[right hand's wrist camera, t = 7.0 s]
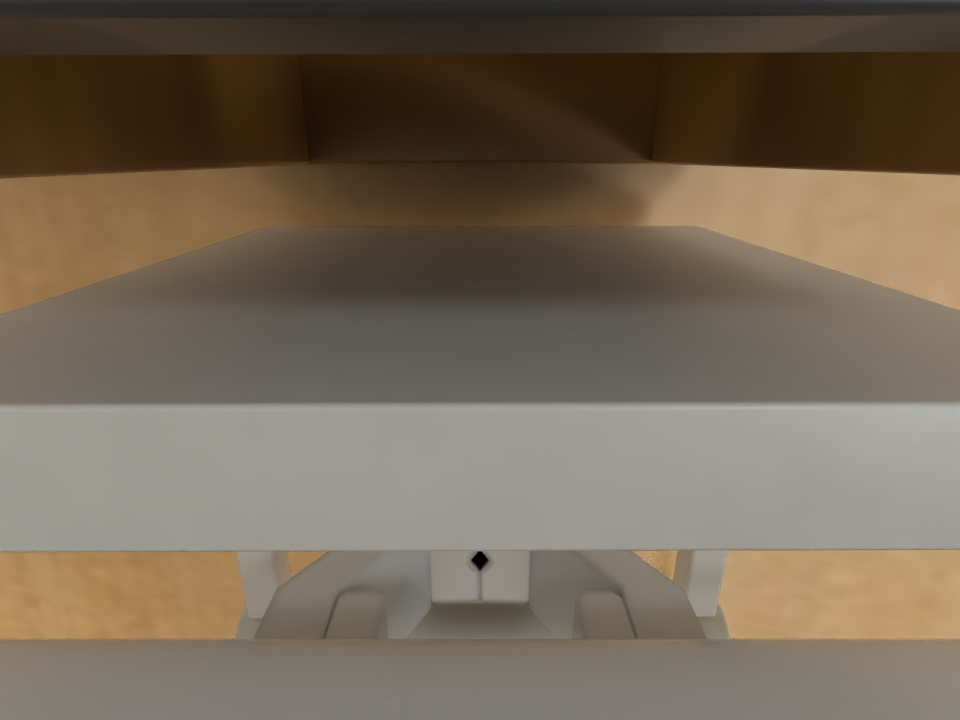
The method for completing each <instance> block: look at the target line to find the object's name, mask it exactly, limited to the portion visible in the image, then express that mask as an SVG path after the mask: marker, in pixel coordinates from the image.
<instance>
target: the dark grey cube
mask: <svg viewBox="0 0 960 720" xmlns="http://www.w3.org/2000/svg"><path fill="white" fill-rule="evenodd" d="M758 52H960V0H0V55H189V54H473V53H758Z"/></svg>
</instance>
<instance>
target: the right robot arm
mask: <svg viewBox="0 0 960 720" xmlns="http://www.w3.org/2000/svg"><path fill="white" fill-rule="evenodd" d="M474 603H485V604H521V605H529V608H530V609H531V610H532V612H533V613H534V614H535V616H536V617H537V618H538V619H539V621H540V622H541V623H542V625H543V626H544V627H545V628H546V630H547V631H548V632H549V633H550V635H551V636H552V637H553V639H407V638H408V636H409V635H410V634H411V633H412V631H413V630H414V629H415V628H416V626H417V625H418V624H419V622H420V621H421V620H422V619H423V617H424V616H425V615H426V614H427V612H428V611H429V610H430V608H431V605H439V604H474ZM0 720H960V639H707V637H706V635H705V633H704V631H703V629H702V626H701V624H700V622H699V620H698V618H697V616H696V614H695V612H694V610H693V607H692V605H691V603H690V601H689V599H688V597H687V595H686V593H685V590H684V589H683V588H682V587H680V586H679V585H677V584H676V583H675V582H673V581H672V580H670V579H669V578H668V577H666V576H665V575H663V574H662V573H661V572H659V571H658V570H657V569H655V568H654V567H652V566H651V565H650V564H648V563H647V562H645V561H644V560H643V559H641V558H640V557H638V556H637V555H636V554H634V553H633V552H631V551H328V552H327V553H326V554H324V555H323V556H321V557H320V558H319V559H317V560H316V561H314V562H313V563H312V564H310V565H309V566H307V567H306V568H305V569H303V570H302V571H300V572H299V573H298V574H296V575H295V576H293V577H292V578H291V579H289V580H288V581H286V582H285V583H284V584H282V585H281V586H279V587H278V588H277V589H276V591H275V593H274V595H273V597H272V599H271V602H270V604H269V606H268V608H267V610H266V612H265V614H264V616H263V618H262V620H261V622H260V625H259V627H258V629H257V631H256V633H255V635H254V637H253V639H0Z"/></svg>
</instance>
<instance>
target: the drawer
mask: <svg viewBox="0 0 960 720" xmlns="http://www.w3.org/2000/svg"><path fill="white" fill-rule="evenodd" d="M621 163H654V164H681V165H707V166H733V167H759V168H785V169H811V170H837V171H864V172H890V173H916V174H942V175H960V52H758V53H473V54H189V55H0V178H19V177H41V176H63V175H86V174H108V173H130V172H153V171H175V170H197V169H220V168H242V167H264V166H286V165H319V164H621ZM728 550H960V311H959V310H956V309H953V308H950V307H947V306H944V305H940V304H937V303H934V302H931V301H928V300H925V299H922V298H919V297H916V296H912V295H909V294H906V293H903V292H900V291H897V290H894V289H891V288H887V287H884V286H881V285H878V284H875V283H872V282H869V281H866V280H863V279H859V278H856V277H853V276H850V275H847V274H844V273H841V272H838V271H834V270H831V269H828V268H825V267H822V266H819V265H816V264H813V263H810V262H806V261H803V260H800V259H797V258H794V257H791V256H788V255H785V254H781V253H778V252H775V251H772V250H769V249H766V248H763V247H760V246H757V245H753V244H750V243H747V242H744V241H741V240H738V239H735V238H732V237H728V236H725V235H722V234H719V233H716V232H713V231H710V230H707V229H703V228H700V227H697V226H620V227H306V228H263V229H260V230H257V231H254V232H251V233H248V234H245V235H242V236H239V237H236V238H232V239H229V240H226V241H223V242H220V243H217V244H214V245H211V246H208V247H205V248H202V249H199V250H196V251H193V252H190V253H187V254H184V255H181V256H178V257H175V258H172V259H169V260H166V261H163V262H160V263H157V264H154V265H151V266H148V267H145V268H142V269H139V270H136V271H132V272H129V273H126V274H123V275H120V276H117V277H114V278H111V279H108V280H105V281H102V282H99V283H96V284H93V285H90V286H87V287H84V288H81V289H78V290H75V291H72V292H69V293H66V294H63V295H60V296H57V297H54V298H51V299H48V300H45V301H42V302H39V303H36V304H33V305H29V306H26V307H23V308H20V309H17V310H14V311H11V312H8V313H5V314H2V315H0V552H236V553H237V558H238V563H239V568H240V573H241V578H242V583H243V588H244V594H245V599H246V606H245V607H244V609H243V612H242V614H241V617H240V620H239V624H238V628H237V633H236V639H253V637H254V635H255V633H256V631H257V629H258V627H259V625H260V622H261V620H262V618H263V616H264V614H265V612H266V610H267V608H268V606H269V604H270V602H271V599H272V597H273V595H274V593H275V591H276V589H277V588H278V587H279V586H281V585H282V584H284V583H285V582H286V581H288V580H289V579H291V573H290V566H289V560H288V553H287V552H307V551H677V557H676V564H675V570H674V577H673V582H675V583H676V584H677V585H679V586H680V587H682V588H683V589H684V590H685V593H686V595H687V597H688V599H689V601H690V603H691V605H692V607H693V610H694V612H695V614H696V616H697V618H698V620H699V622H700V624H701V626H702V629H703V631H704V633H705V635H706V637H707V639H729V632H728V627H727V623H726V620H725V617H724V614H723V611H722V609H721V607H720V605H719V603H718V598H719V593H720V588H721V583H722V577H723V572H724V567H725V562H726V557H727V551H728ZM407 639H553V637H552V636H551V635H550V633H549V632H548V631H547V630H546V628H545V627H544V626H543V625H542V623H541V622H540V621H539V619H538V618H537V617H536V616H535V614H534V613H533V612H532V610H531V609H530V608H529V605H521V604H485V603H474V604H439V605H431V608H430V610H429V611H428V612H427V614H426V615H425V616H424V617H423V619H422V620H421V621H420V622H419V624H418V625H417V626H416V628H415V629H414V630H413V631H412V633H411V634H410V635H409V636H408V638H407Z"/></svg>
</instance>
